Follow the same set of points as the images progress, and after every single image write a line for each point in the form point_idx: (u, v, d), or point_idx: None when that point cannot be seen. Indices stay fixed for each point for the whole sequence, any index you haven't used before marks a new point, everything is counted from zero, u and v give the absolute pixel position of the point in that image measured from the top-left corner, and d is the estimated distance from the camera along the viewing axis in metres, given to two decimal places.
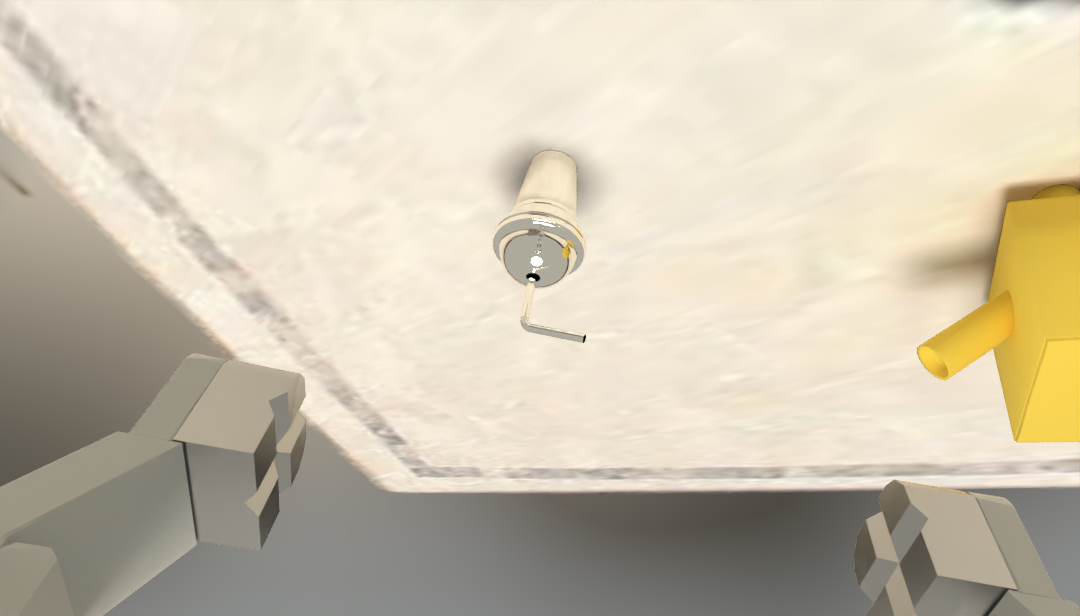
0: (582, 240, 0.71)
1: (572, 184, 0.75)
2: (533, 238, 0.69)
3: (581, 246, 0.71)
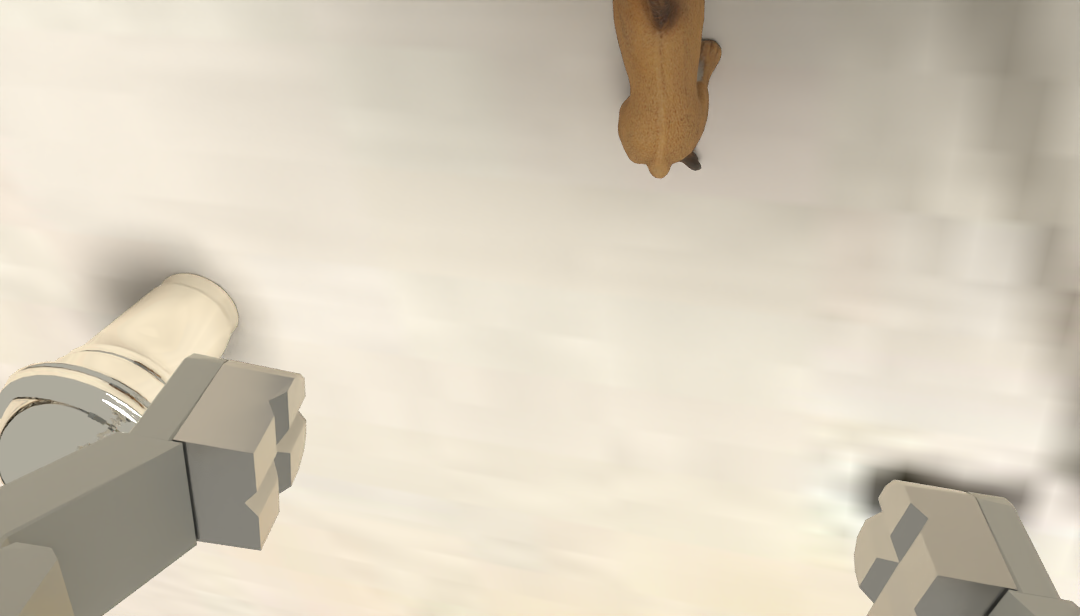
0: None
1: None
2: (94, 437, 0.34)
3: None
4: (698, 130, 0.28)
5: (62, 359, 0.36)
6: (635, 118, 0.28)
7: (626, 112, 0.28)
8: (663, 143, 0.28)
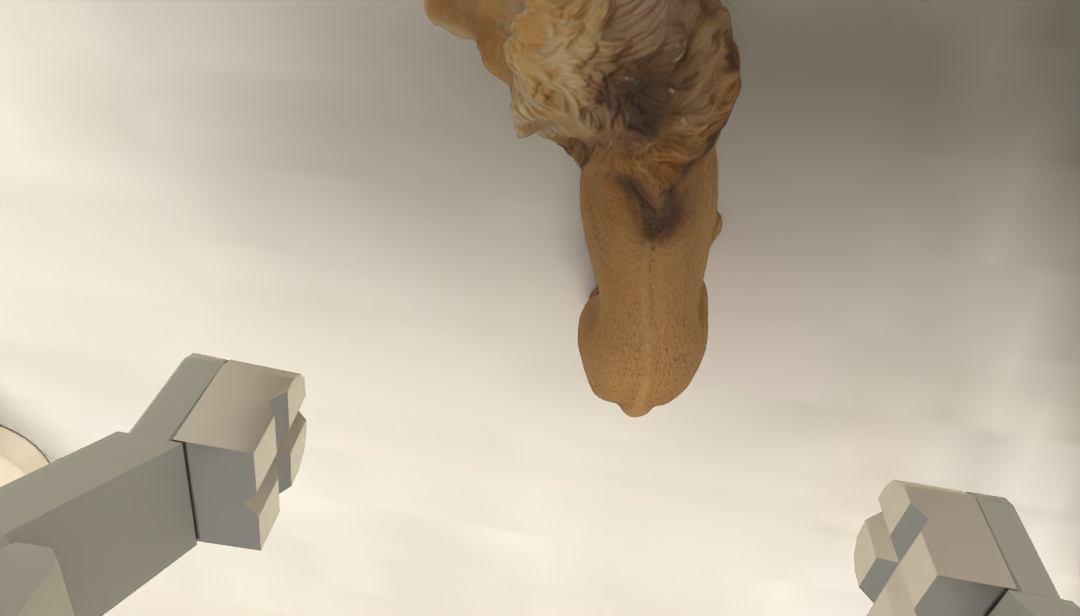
0: None
1: None
2: None
3: None
4: (696, 365, 0.19)
5: None
6: (607, 352, 0.19)
7: (593, 337, 0.19)
8: (646, 388, 0.19)
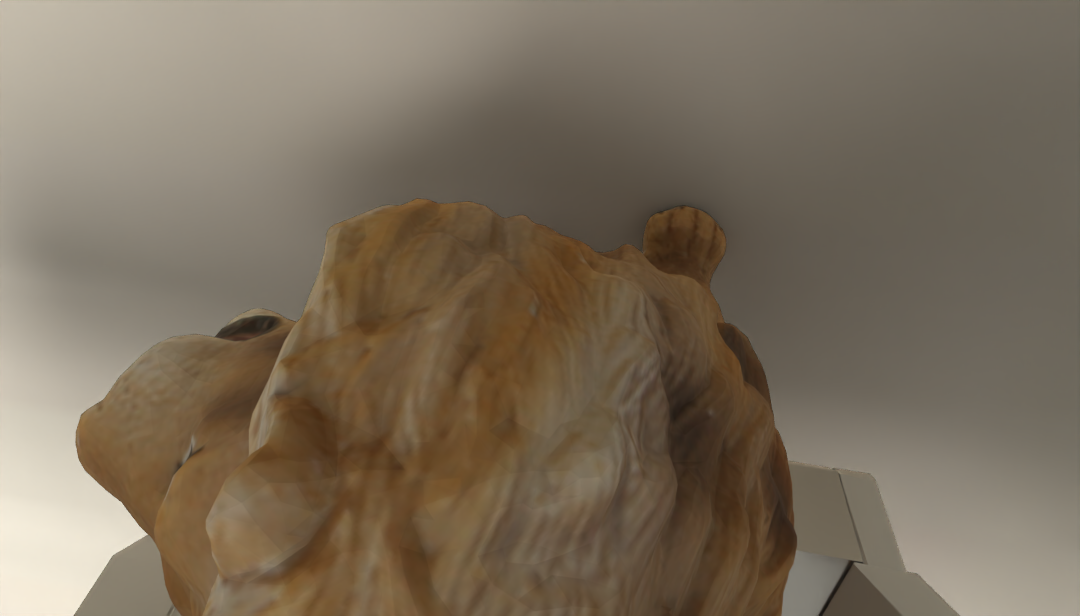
0: None
1: None
2: None
3: None
4: None
5: None
6: None
7: None
8: None
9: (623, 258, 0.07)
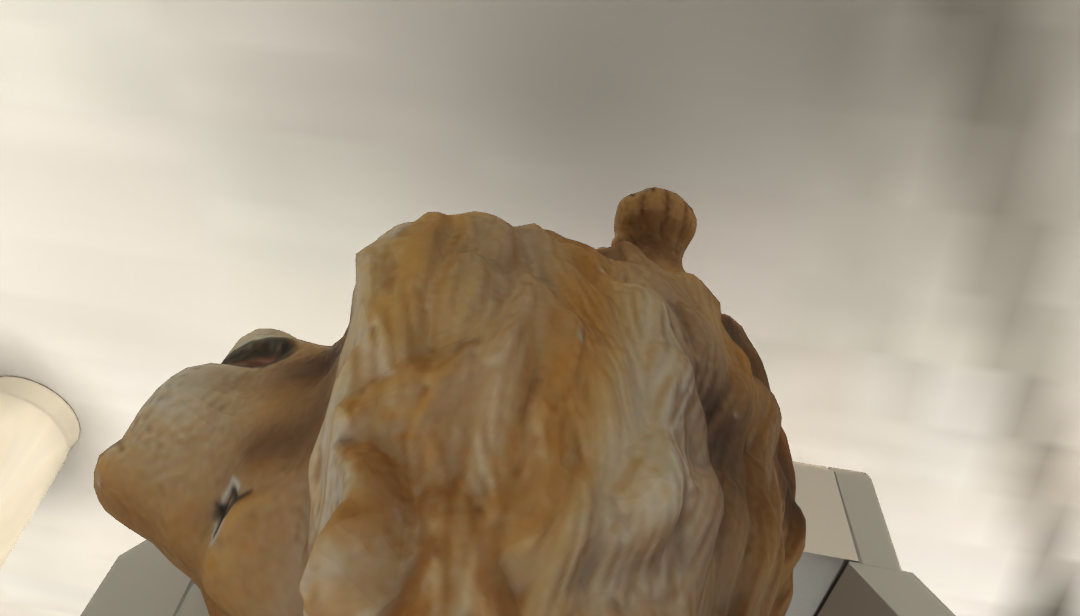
0: None
1: (44, 488, 0.34)
2: None
3: None
4: None
5: None
6: None
7: None
8: None
9: (628, 259, 0.07)
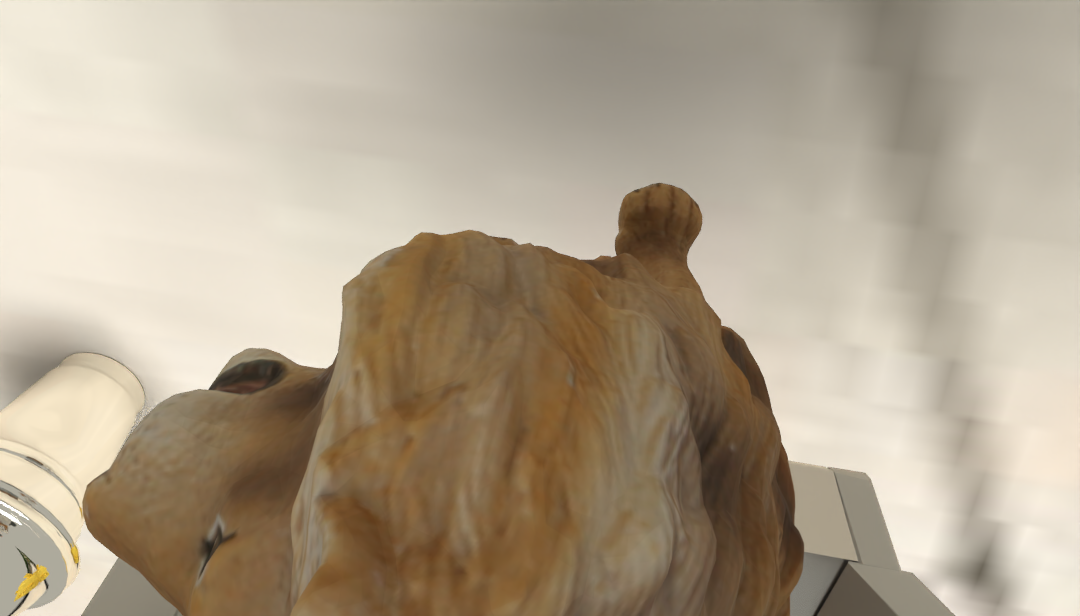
0: (70, 580, 0.35)
1: (118, 447, 0.40)
2: None
3: (60, 590, 0.35)
4: None
5: None
6: None
7: None
8: None
9: (627, 276, 0.07)
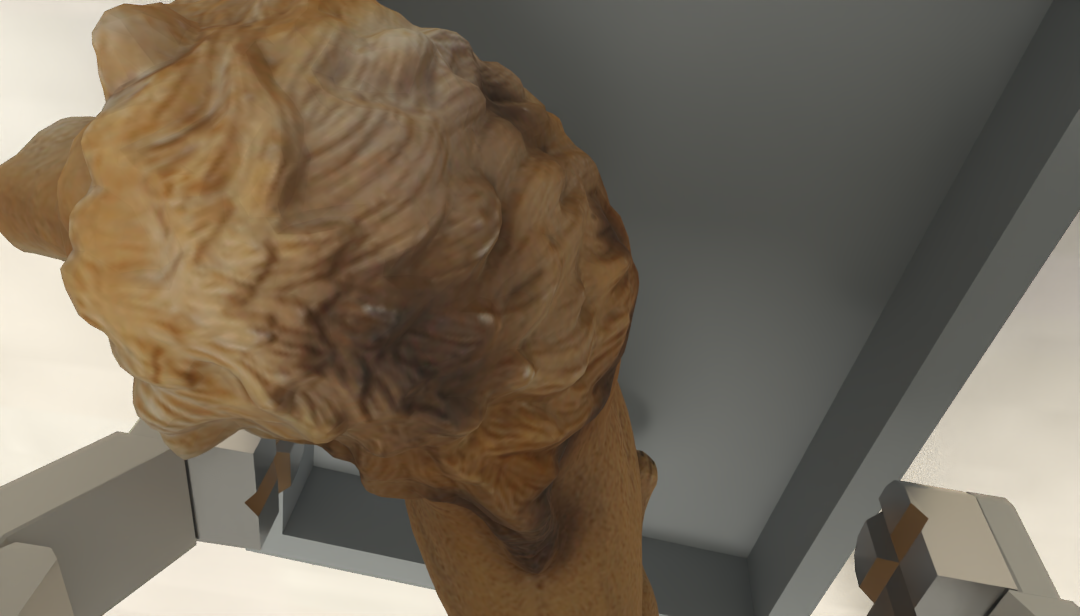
0: None
1: None
2: None
3: None
4: None
5: None
6: None
7: None
8: None
9: None
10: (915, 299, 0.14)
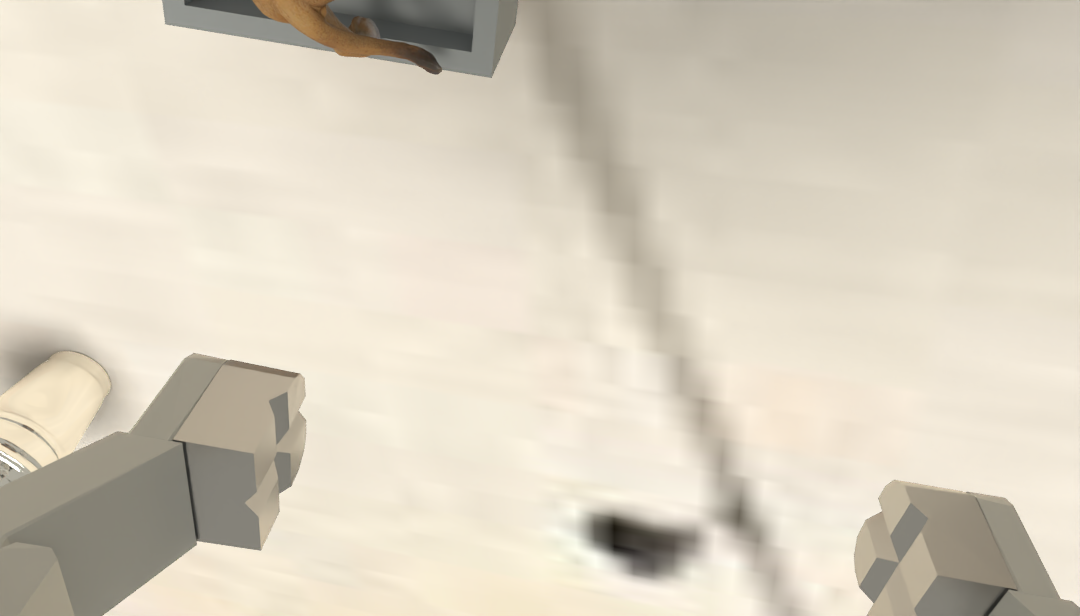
0: None
1: (89, 419, 0.55)
2: None
3: None
4: None
5: None
6: None
7: None
8: None
9: None
10: None
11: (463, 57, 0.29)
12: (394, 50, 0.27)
